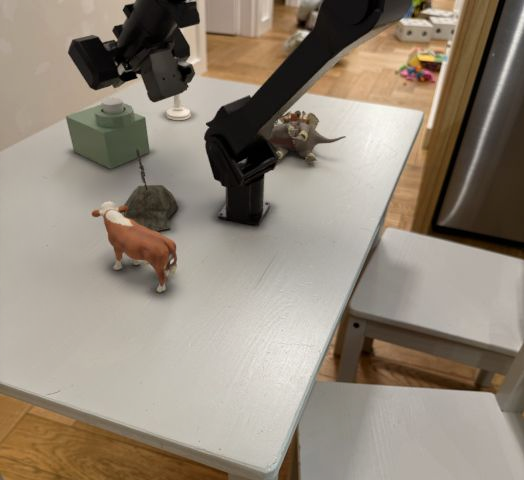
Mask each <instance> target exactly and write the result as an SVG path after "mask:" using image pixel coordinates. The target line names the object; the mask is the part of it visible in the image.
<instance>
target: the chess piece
mask: <svg viewBox="0 0 524 480" xmlns="http://www.w3.org/2000/svg"><path fill="white" fill-rule="evenodd" d="M182 103H183V102H182V99H181V94H178V95H175V96H173V106H172V107H171V108H169V109H168V110H166V117H167V119H170V120H172V121H185V120H187V119H189V118H191V116H192V115H191V111H190V109H188V108H186V107H184V106H183V104H182Z"/></svg>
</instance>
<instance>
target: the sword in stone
mask: <svg viewBox="0 0 524 480" xmlns="http://www.w3.org/2000/svg"><path fill="white" fill-rule="evenodd" d="M136 153H137V156H138V158H137V160H138V164H139V170H140V178H141V181H142V184H144V185H138V186H137V187H136V188H135V189H134V190H133V191H132V193H131V194H130V196H129V197H128V199H127V200H126V201H125V203H124V204H123V206H127V207H128V211H126V212H123V216H124V217H126V218H129V219H132V220H134V221H135V222H136V223H138V224H139V225H142V226H144V227H146V228H148V229H150V230H152V231H156V232H160V231H163V230H167V229H171V223H170V221H169V220H170V219H169V218H170V217H172V215H173V214H174V213H175V212H176V211H177V210H178V208H179V206H178V203H177V200H176V197H175V196H174V194H173V192H171V191H170V190H169V189H167V188H166V187H165V186H164V185H162V184H150V185H149V184H147V182H146V181H147V180H146V172H145V165H143V163H142V159H141V156H140V153H139V150H138V148H136Z"/></svg>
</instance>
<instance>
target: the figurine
mask: <svg viewBox="0 0 524 480" xmlns="http://www.w3.org/2000/svg"><path fill="white" fill-rule="evenodd" d="M279 121H280V123H279ZM319 123H320V120H319V119H318V117H317V116H316V114H314V113H313V112H308V113H306V111H304V110H302V111H300V110H295V112H293V113H292V112H291V111H290V110H289V111H287V112H285V113H284V114H283V115H282V116H281V117H280V118H279V119H278V120H277V121H276V122H275V124H274V125H273V129H272V133H271V136H270V138H269V139H268V140H269V142H270V144H271V145H272V147H273V148H274V149H276V151H275V152H276V154H277V156H278V158H279V160H282V159H283V157H285V156H286V155H287V154H288V153H289V151H293V152H298V155H299V157H301V158H305V159H304V161H305V162H304V164H310V163H313V162H318V159H316V158H317V156H316V155H315V153H312V151H313V150H314V149H315V147H316V146H317V145H320V144H321V145H322V144H333V143H335V142H337V141H339V140H340V141H341V140H343V139H345V138H347V136H345V135H342V136H340V137H336V138H328V137H326V136H323V135H322V134H320V133H319V131H317V130H316V128H317V127H318V126H319V125H318V124H319Z"/></svg>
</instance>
